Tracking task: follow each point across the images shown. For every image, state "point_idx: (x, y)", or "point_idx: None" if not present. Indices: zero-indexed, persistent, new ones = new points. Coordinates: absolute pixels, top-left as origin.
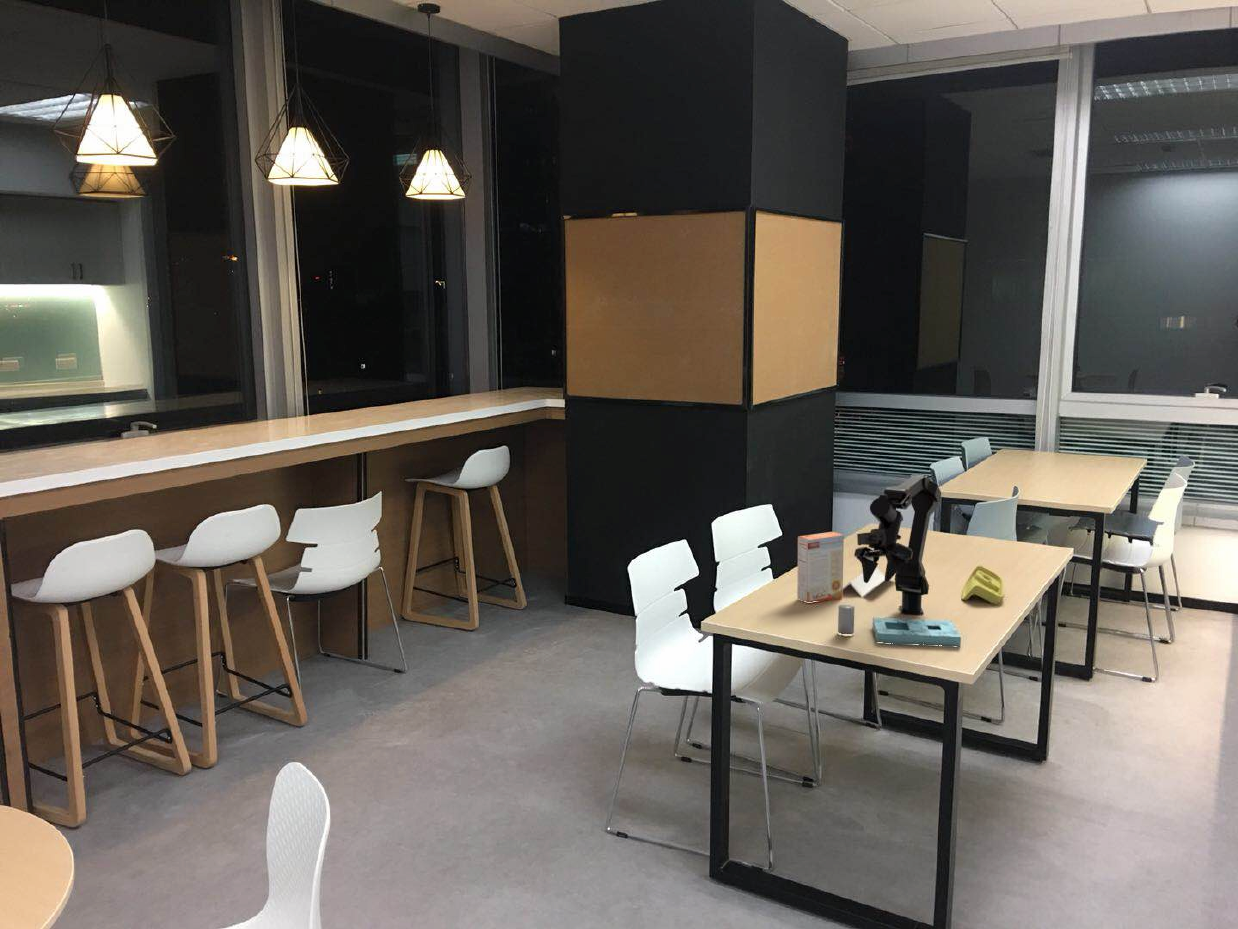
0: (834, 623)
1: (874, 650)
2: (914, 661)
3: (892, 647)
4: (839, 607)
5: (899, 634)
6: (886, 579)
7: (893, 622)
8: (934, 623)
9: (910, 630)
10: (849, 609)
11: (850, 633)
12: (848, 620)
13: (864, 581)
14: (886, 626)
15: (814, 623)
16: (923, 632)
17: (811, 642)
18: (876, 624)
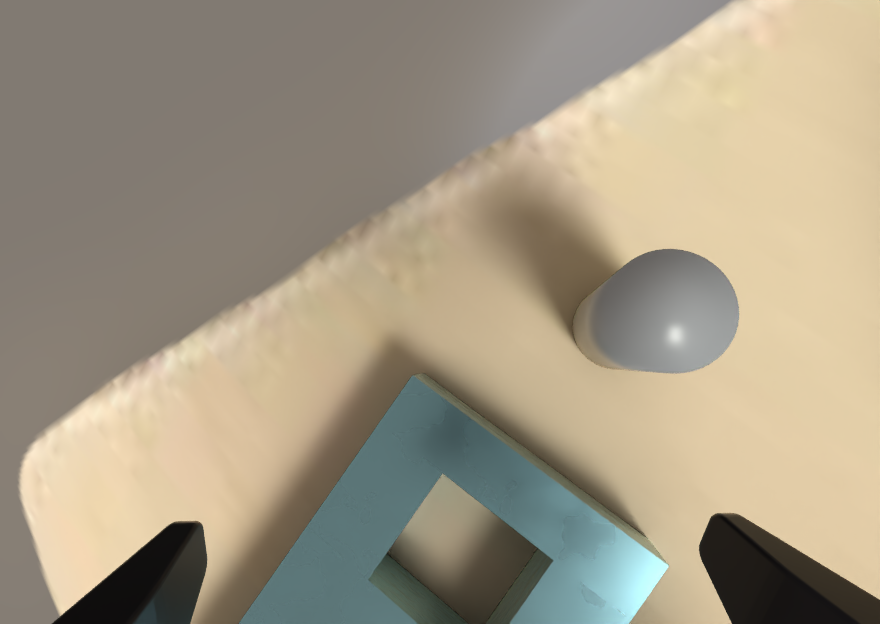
0: (812, 391)
1: (363, 302)
2: (187, 366)
3: (354, 405)
4: (685, 253)
5: (345, 471)
6: (159, 548)
7: (522, 605)
8: None
9: (362, 578)
10: (607, 293)
11: (575, 324)
12: (592, 300)
13: (720, 513)
14: (544, 558)
15: (863, 285)
16: (304, 617)
17: (586, 104)
18: (538, 480)
